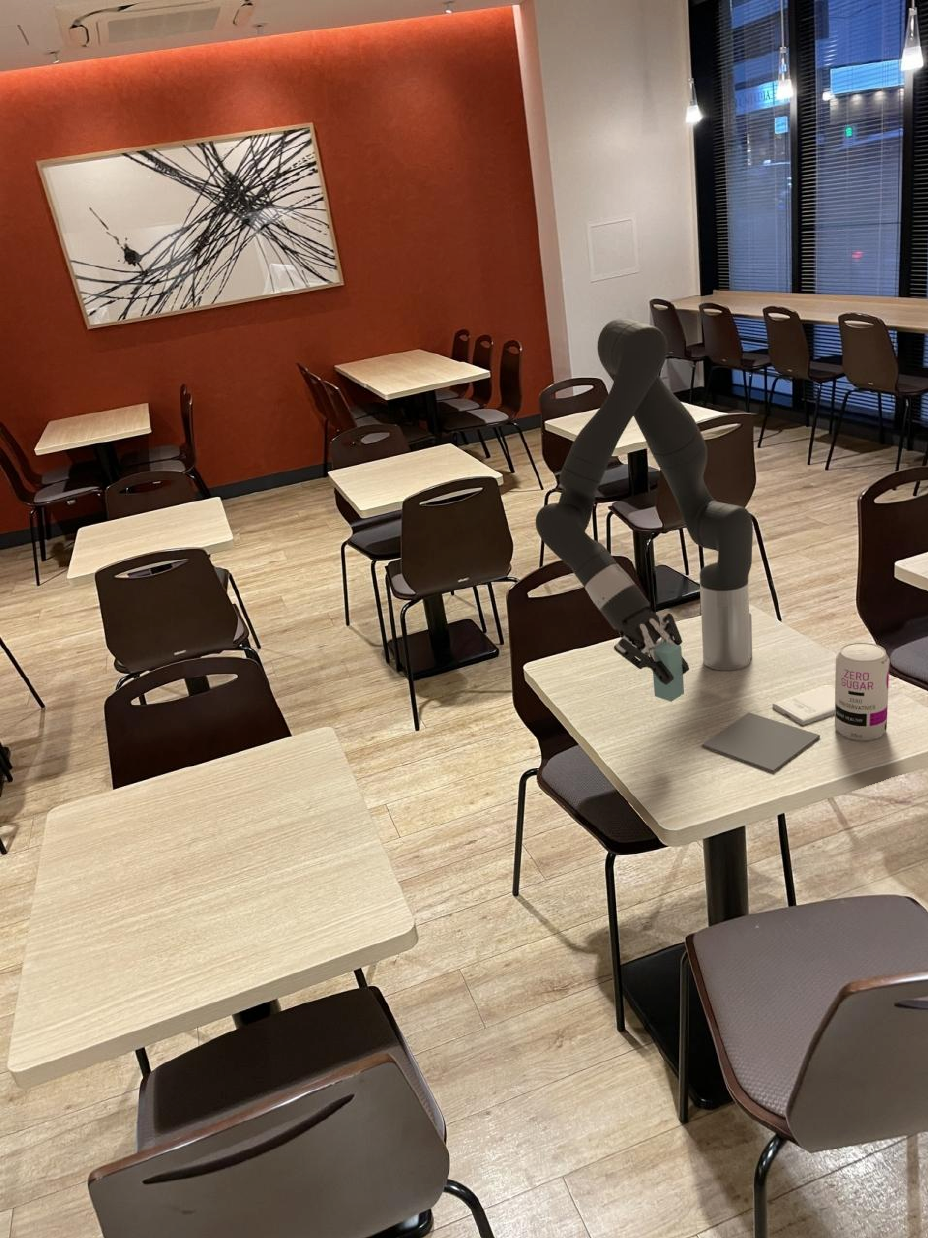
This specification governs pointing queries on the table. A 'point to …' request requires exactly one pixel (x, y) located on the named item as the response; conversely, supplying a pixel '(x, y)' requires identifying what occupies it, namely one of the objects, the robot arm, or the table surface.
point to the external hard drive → (809, 705)
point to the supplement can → (861, 691)
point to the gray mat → (761, 742)
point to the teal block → (673, 663)
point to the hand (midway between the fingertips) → (677, 676)
